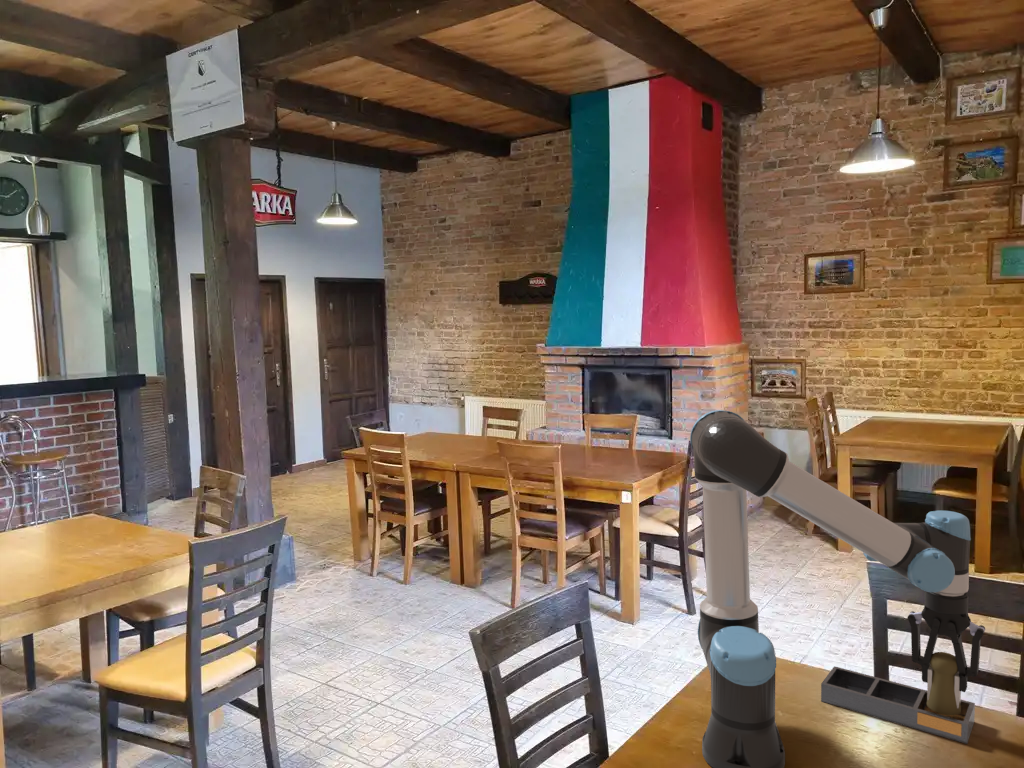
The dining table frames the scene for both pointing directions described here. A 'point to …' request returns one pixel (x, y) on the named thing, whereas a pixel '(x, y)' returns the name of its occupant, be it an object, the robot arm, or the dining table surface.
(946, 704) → the olive pawn-shaped piece
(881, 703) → the rack
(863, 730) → the dining table surface
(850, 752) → the dining table surface
